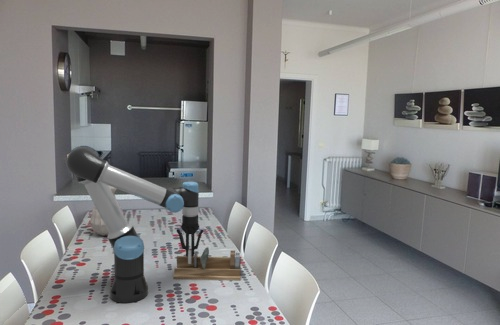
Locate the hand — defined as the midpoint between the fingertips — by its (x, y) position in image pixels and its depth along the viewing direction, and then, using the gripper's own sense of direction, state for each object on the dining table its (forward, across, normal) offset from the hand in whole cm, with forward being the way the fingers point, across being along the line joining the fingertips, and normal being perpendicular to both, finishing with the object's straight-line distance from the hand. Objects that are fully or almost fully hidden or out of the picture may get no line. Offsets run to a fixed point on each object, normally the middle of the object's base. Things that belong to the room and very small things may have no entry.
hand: (190, 262), depth 179 cm
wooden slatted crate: (+6, -9, 0) cm, 10 cm away
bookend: (+4, -3, 0) cm, 5 cm away
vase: (+6, +60, -60) cm, 85 cm away
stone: (+2, -8, +1) cm, 8 cm away
